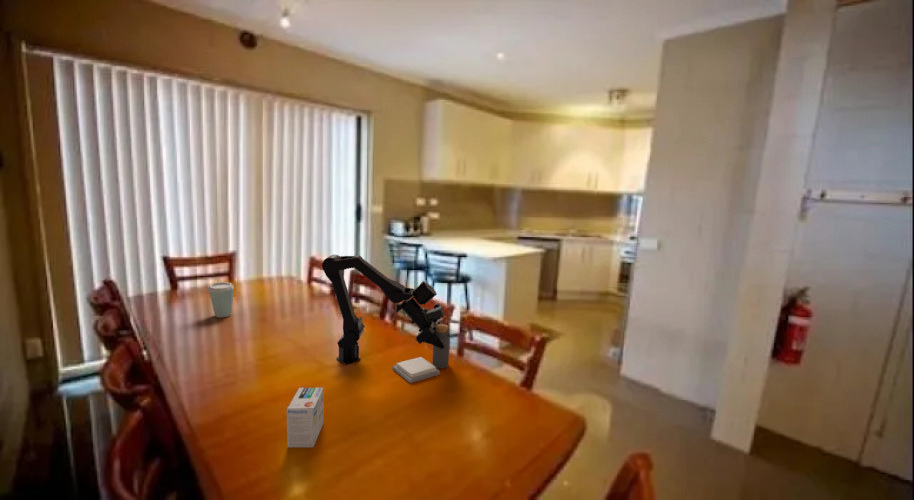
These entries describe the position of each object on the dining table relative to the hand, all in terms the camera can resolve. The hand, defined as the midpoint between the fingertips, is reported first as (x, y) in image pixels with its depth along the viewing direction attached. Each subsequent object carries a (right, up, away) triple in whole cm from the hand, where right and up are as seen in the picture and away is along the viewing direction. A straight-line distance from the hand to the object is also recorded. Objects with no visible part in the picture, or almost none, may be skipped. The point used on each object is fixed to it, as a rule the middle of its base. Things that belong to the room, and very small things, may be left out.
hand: (444, 344), depth 151 cm
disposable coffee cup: (-105, +4, +44) cm, 114 cm away
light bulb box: (-35, -14, -42) cm, 57 cm away
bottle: (-2, -8, +2) cm, 8 cm away
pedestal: (-10, -9, -4) cm, 14 cm away
